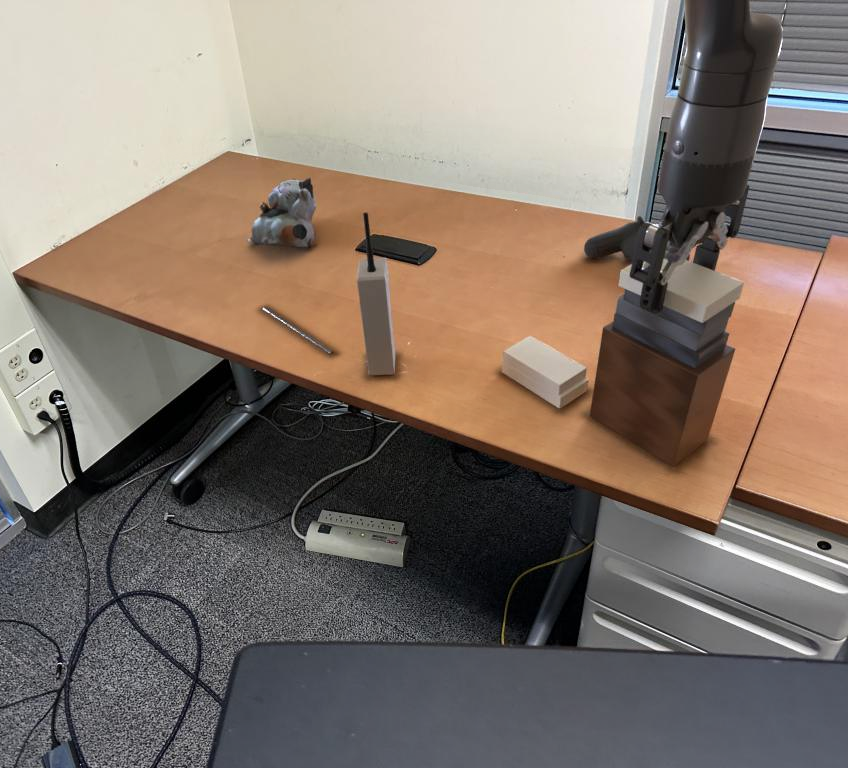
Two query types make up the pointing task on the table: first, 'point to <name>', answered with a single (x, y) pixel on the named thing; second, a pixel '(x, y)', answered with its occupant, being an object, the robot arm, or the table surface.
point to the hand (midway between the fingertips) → (676, 293)
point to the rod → (298, 331)
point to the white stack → (545, 371)
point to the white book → (692, 290)
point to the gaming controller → (618, 242)
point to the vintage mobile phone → (376, 310)
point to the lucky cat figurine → (287, 216)
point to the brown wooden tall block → (661, 377)
